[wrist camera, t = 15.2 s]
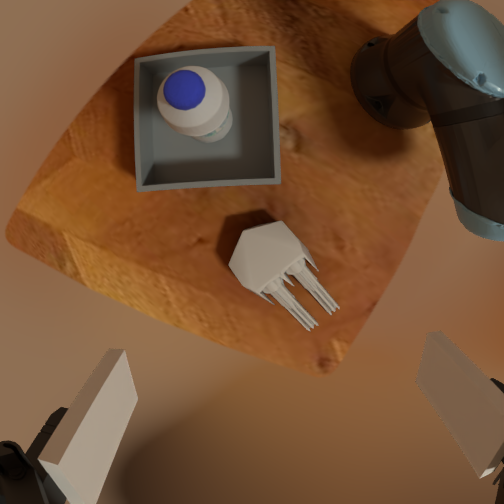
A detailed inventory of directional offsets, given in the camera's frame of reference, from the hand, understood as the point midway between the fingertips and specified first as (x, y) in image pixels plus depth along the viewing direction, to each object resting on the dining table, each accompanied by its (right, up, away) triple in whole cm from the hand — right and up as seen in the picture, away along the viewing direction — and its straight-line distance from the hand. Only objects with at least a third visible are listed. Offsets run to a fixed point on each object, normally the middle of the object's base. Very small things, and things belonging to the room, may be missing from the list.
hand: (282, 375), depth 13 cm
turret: (+4, +2, +36) cm, 36 cm away
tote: (-7, +23, +30) cm, 38 cm away
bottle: (-7, +23, +29) cm, 38 cm away
